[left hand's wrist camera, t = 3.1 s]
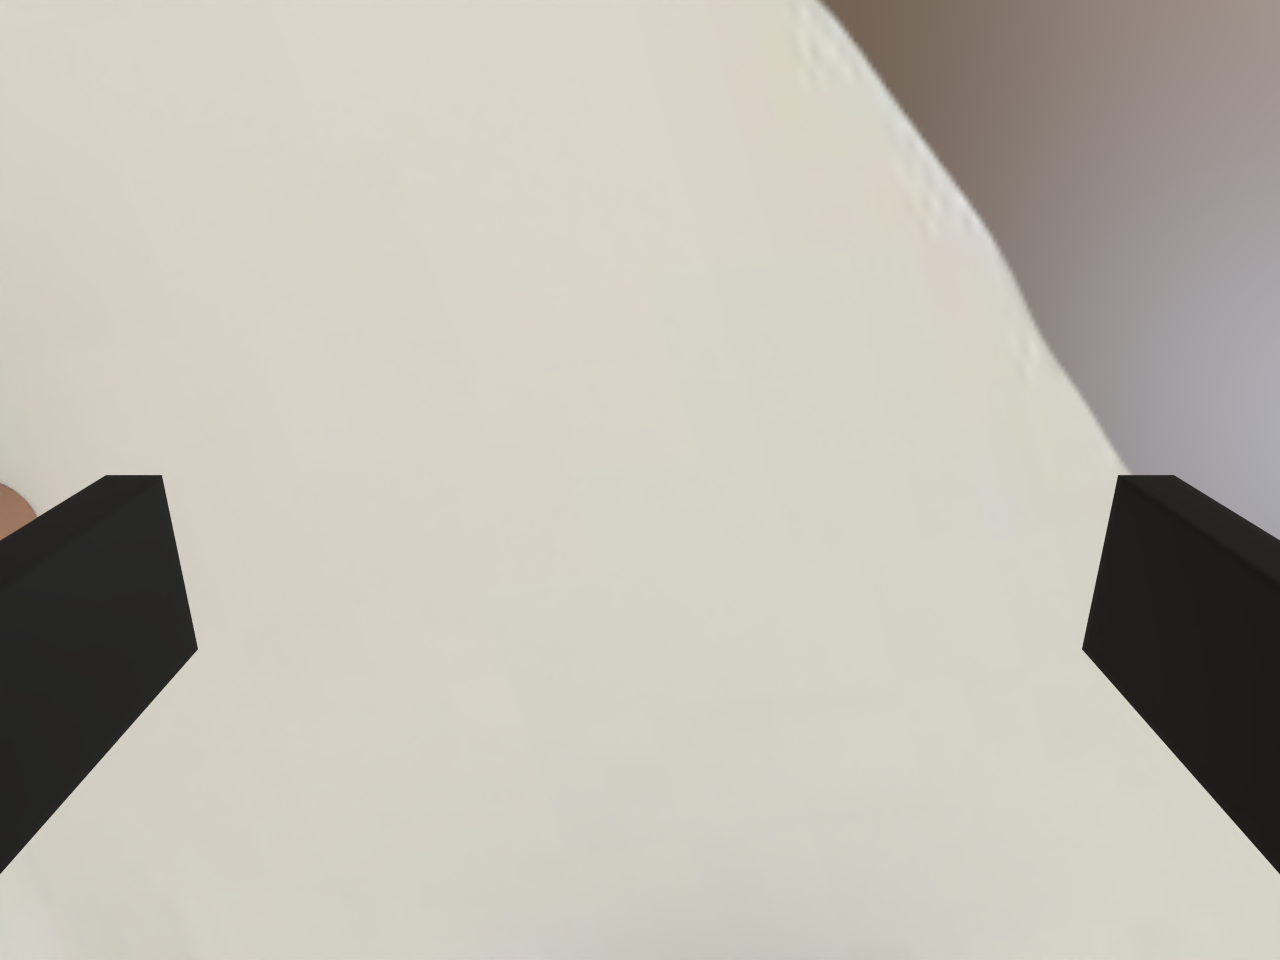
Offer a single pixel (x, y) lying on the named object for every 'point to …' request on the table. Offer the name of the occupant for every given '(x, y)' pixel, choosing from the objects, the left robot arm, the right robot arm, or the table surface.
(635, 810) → the table surface
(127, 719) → the left robot arm
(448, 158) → the table surface
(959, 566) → the table surface
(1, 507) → the jar
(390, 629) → the table surface
